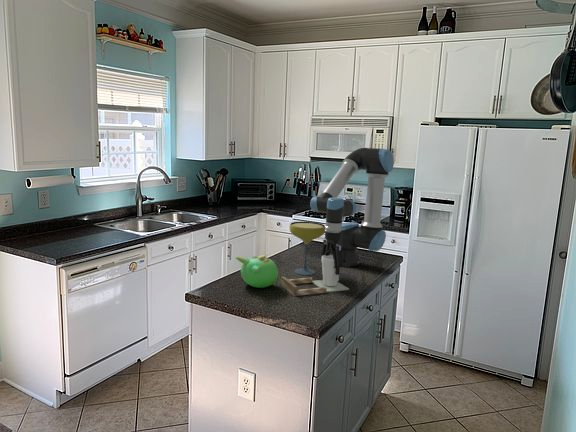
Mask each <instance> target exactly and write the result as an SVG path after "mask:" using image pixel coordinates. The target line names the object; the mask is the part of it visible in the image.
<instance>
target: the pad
mask: <svg viewBox="0 0 576 432" xmlns="http://www.w3.org/2000/svg"><path fill="white" fill-rule="evenodd" d="M312 284H313V285H315V286H316V287H317V288H320V287H326V288H327V292H326V293H333V292H341V291H349V290H350V288H349V287H347V286H345V285H344V284H342V283H340V282H339V281H337V285H335V286H327V285H324V284H323V279H317V280H312Z"/></svg>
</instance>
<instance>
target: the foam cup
mask: <svg viewBox="0 0 576 432" xmlns="http://www.w3.org/2000/svg"><path fill="white" fill-rule="evenodd" d="M320 259H321V258H320ZM334 267H335V265H334V259H333V254H330V255H328V256H326V255H323V256H322V259H321V270H322V272H323V274H322V280H323V284H324V285H327V286H335V285H337V282H338V281H333V270H334Z"/></svg>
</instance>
